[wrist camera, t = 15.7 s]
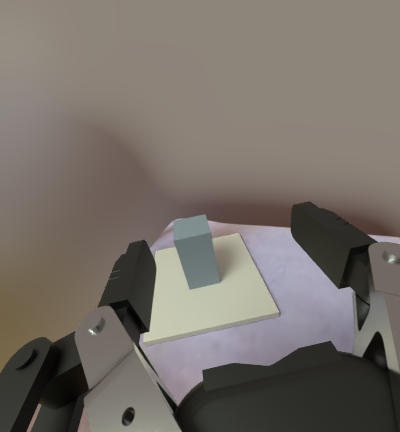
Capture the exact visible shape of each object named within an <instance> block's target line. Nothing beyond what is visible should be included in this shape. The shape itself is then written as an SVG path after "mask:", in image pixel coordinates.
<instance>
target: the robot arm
mask: <svg viewBox="0 0 400 432" xmlns="http://www.w3.org/2000/svg"><path fill="white" fill-rule="evenodd" d="M291 216H292V217H291V233H292V236H293V238H294V240H295V241H296V242H297V243H298V244H299V245H300V246H301V247H302V249H303V250H304V251H305V252H306V253H307V254H308V255H309V256H310V258H311V259H312V260H313V261H314V262H315V263H316V264H317V265H318V266H319V268H320V269H321V270H322V271H323V272H324V273H325V274H326V275H327V277H328V278H329V279H330V280H331V281H332V282H333V283H334V284H335V285H336V287H337V288H338V289H341V288H346V287H351V288H352V289H353V290H354V291H353V294H352V298H353V314H354V330H355V340H354V346H353V354H350V353H346V352H341V351H337V350H336V348H335V347H334V345H333V344H332V342H331V341H328V342H324V343H319V344H315V345H311V346H306V347H302V348H299V349H297V350H295V351H294V352H292V353H291V354H289V355H287V356H286V357H284V358H283V359H281V360H279V361H278V362H276V363H275V364H273V365H271V366H262V365H251V364H239V363H232V364H227V365H223V366H218V367H214V368H210V369H205V370H203V381H202V382H200V383H199V384H197V385H196V386H195V387H194V388H193V389H191V391H190V392H189V393H188V394H187V395H186V396H185V397H184V398H183V400H182V401H181V403H180V404H179V405H178V403H177V402H176V400H175V399H174V397H173V396H172V394H171V392H170V391H169V390H168V388H167V387H166V385H165V384H164V382H163V381H162V379H161V378H160V376H159V374H158V373H157V371H156V369H155V368H154V366H153V365H152V363H151V361H150V360H149V358H148V357H147V355H146V353H145V352H144V350H143V348H142V347H141V345H140V344H139V340H140V334H142V333H146V332H149V330H150V322H151V313H152V305H153V297H154V289H155V280H156V272H157V268H156V263H155V260H154V257H153V255H152V253H151V251H150V249H149V247H148V245H147V242H146V241H145V240H141V241H137V242H133V243H130V244H129V246H128V249H127V252H126V254H123V255H121V256H120V258H119V259H118V260H117V261H116V262H115V265H114V267H113V270H112V273H111V275H110V277H109V280H108V282H107V285H106V287H105V290H104V293H103V295H102V298H101V300H100V303H99V305H98V308H96V309H94V310H93V311H91V312H90V313H89V314H88V315H86V316H85V317H84V318H83V320H82V321H81V322H80V323H79V325H78V327H77V329H76V331H74V332H73V333H71V334H69V335H67V336H65V337H63V338H61V339H59V340H58V341H56V342H54V343H52V342H51V341H50V340H49V339H47V338H45V337H41V338H37V339H34V340H32V341H30V342H29V343H27V344H26V345H24V346H23V347H22V348H20V349H19V350H18V351H17V352H16V353H15V354H14V355H13V356H12V357H11V359H10V360H9V361H8V362H7V364H6V365H5V367H4V368H3V370H2V372H1V373H0V432H26V431H27V429H28V427H29V424H30V422H31V420H32V417H33V415H34V413H35V410H36V408H37V406H38V403H39V404H41V405H42V406H41V408H40V410H39V413H38V415H37V418H36V420H35V423H34V425H33V427H32V430H31V432H77V431H78V427H79V423H80V420H81V416H82V412H83V408H84V406H85V410H86V414H87V418H88V422H89V426H90V430H91V432H400V244H396V243H391V242H377V241H375V240H374V239H372V238H371V237H370V236H368V235H367V234H365V233H364V232H362V231H360V230H359V229H357V228H356V227H355V226H353V225H351V224H349V223H348V222H347V221H345V220H344V219H342V218H341V217H340V216H338V215H336V214H335V213H334V212H331V211H329V210H326V209H323V208H321V209H320V208H318V207H317V206H316V205H314V204H312V203H311V202H304V203H300V204H296V205H293V207H292V215H291ZM88 390H89V391H88Z"/></svg>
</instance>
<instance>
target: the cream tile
mask: <svg viewBox="0 0 400 432" xmlns="http://www.w3.org/2000/svg"><path fill="white" fill-rule="evenodd" d="M212 242H213V247H214V252H215V257H216V263H217V268H218V273H219V278H220V283H218V284H214V285H209V286H205V287H200V288H196V289H192V290H189V286H188V283H187V280H186V277H185V274H184V271H183V268H182V265H181V262H180V259H179V256H178V253H177V250H176V247H172V248H168V249H163V250H159V251H156V254H155V263H156V268H157V272H156V280H155V289H154V297H153V305H152V313H151V322H150V330H149V332H146V333H144V339H143V343H144V345H145V346H149V345H154V344H158V343H163V342H167V341H172V340H176V339H181V338H185V337H190V336H194V335H199V334H203V333H207V332H212V331H216V330H221V329H225V328H230V327H234V326H239V325H243V324H248V323H252V322H257V321H261V320H266V319H270V318H275V317H279V310H278V308H277V306H276V304H275V302H274V301H273V299H272V297H271V295H270V293H269V291H268V289H267V287H266V285H265V283H264V281H263V279H262V277H261V275H260V273H259V271H258V270H257V268H256V266H255V264H254V262H253V260H252V258H251V256H250V254H249V252H248V250H247V248H246V246H245V244H244V242H243V240H242V238H241V237H240V235H239V233H236V234H232V235H227V236H222V237H218V238H213V239H212Z"/></svg>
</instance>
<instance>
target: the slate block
mask: <svg viewBox="0 0 400 432" xmlns="http://www.w3.org/2000/svg"><path fill="white" fill-rule="evenodd" d="M174 243H175V246H176V250H177V253H178V256H179V259H180V262H181V265H182V268H183V271H184V274H185V277H186V280H187V283H188V286H189V290H192V289H196V288H200V287H205V286H209V285H214V284H218V283H220V278H219V273H218V268H217V263H216V257H215V252H214V247H213V242H212V236H211V232H210V228H209V225H208V222H207V219H206V215H200V216H195V217H191V218H187V219H182V220H178V221H174Z"/></svg>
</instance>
